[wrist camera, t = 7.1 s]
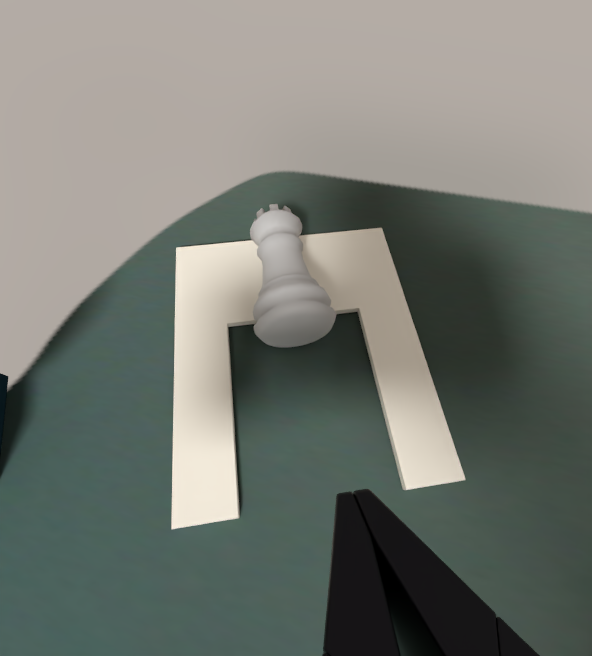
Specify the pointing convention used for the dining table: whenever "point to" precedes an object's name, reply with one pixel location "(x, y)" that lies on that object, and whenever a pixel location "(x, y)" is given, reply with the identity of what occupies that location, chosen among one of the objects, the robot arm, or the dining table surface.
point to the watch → (2, 402)
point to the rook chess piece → (287, 284)
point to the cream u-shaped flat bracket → (237, 309)
